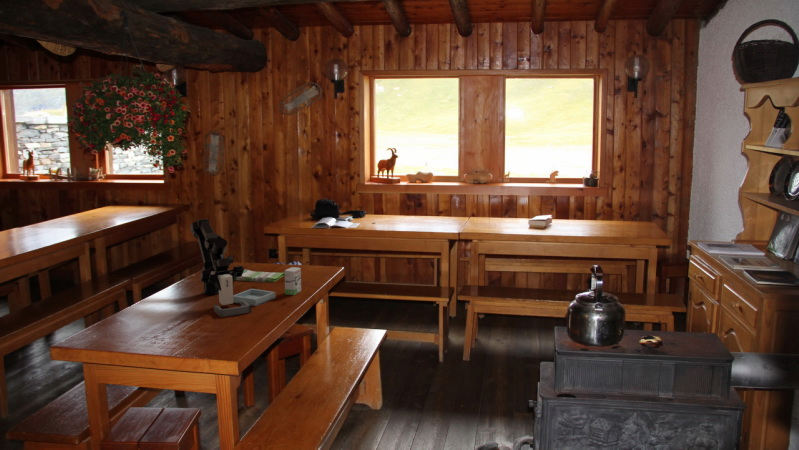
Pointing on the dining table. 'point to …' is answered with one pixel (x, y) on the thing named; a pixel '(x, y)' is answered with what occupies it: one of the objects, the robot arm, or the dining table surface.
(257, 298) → the tray
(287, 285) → the ink box
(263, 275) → the dish towel
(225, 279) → the tall beige block
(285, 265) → the dining table surface
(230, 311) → the bay
